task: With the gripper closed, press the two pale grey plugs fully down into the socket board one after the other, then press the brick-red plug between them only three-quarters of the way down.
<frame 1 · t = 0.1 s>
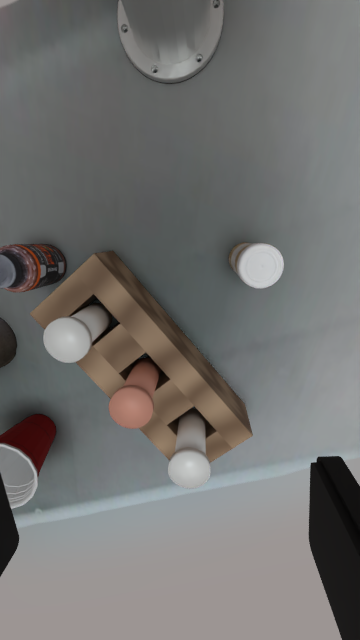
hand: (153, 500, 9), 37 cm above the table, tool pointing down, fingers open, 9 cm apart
sprinkles bottle: (243, 258, 43), on the table
plastic cup: (42, 426, 53), on the table
brick plug: (139, 387, 37), point 11 cm above the table, slide at 0.0 cm
grey plug 2: (190, 442, 39), point 11 cm above the table, slide at 0.0 cm
socket board: (153, 354, 48), on the table
supplement bottle: (49, 263, 45), on the table
grey plug 1: (84, 327, 36), point 11 cm above the table, slide at 0.0 cm
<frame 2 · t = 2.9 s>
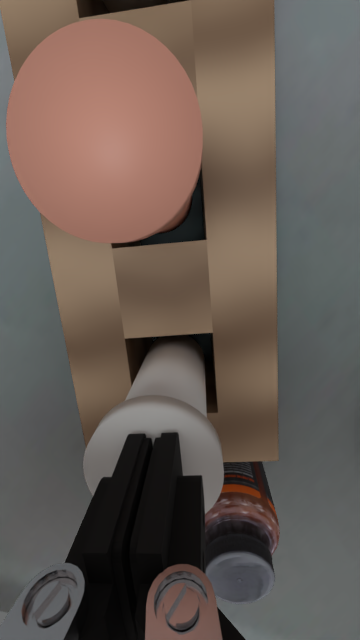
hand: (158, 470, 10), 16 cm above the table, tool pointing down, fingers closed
brick plug: (141, 181, 12), point 11 cm above the table, slide at 0.0 cm
socket board: (169, 209, 23), on the table
supplement bottle: (223, 444, 28), on the table
grey plug 1: (167, 398, 15), point 11 cm above the table, slide at 0.5 cm, touching gripper
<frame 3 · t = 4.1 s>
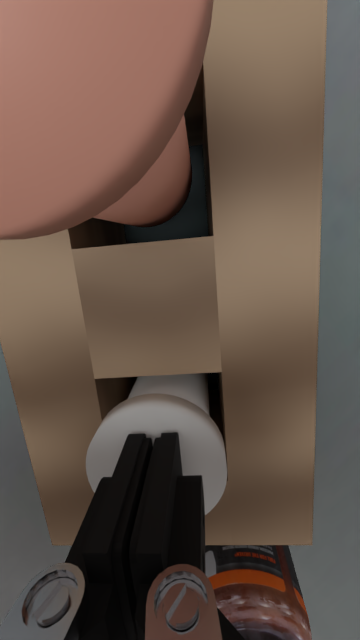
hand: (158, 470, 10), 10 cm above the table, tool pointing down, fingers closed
brick plug: (101, 130, 7), point 11 cm above the table, slide at 0.0 cm
socket board: (162, 197, 17), on the table
supplement bottle: (231, 489, 23), on the table
grey plug 1: (170, 397, 15), point 5 cm above the table, slide at 5.8 cm, touching gripper
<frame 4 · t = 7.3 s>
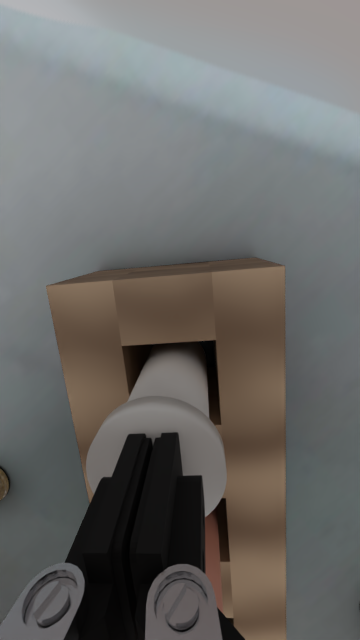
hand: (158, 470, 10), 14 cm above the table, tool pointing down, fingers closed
brick plug: (185, 584, 16), point 11 cm above the table, slide at 0.0 cm
grey plug 2: (170, 399, 15), point 9 cm above the table, slide at 1.6 cm, touching gripper
socket board: (191, 446, 26), on the table
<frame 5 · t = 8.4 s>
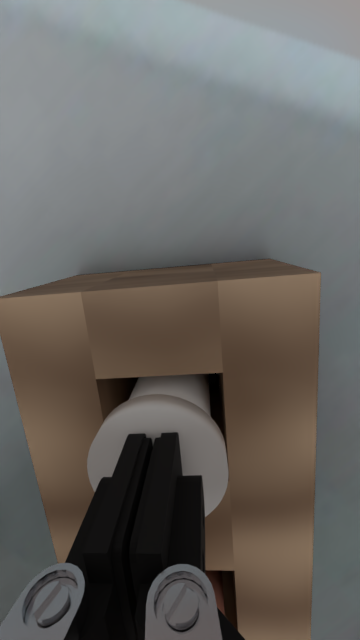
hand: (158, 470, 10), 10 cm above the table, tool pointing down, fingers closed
grey plug 2: (171, 397, 15), point 5 cm above the table, slide at 5.8 cm, touching gripper
socket board: (191, 481, 22), on the table
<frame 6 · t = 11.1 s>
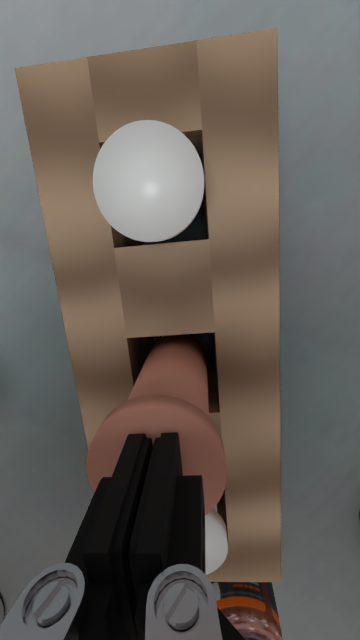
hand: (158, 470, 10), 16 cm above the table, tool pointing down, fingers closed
brick plug: (170, 398, 15), point 11 cm above the table, slide at 0.5 cm, touching gripper
grey plug 2: (162, 199, 18), point 5 cm above the table, slide at 5.8 cm
socket board: (182, 334, 25), on the table
supplement bottle: (230, 529, 30), on the table
grey plug 1: (190, 481, 23), point 5 cm above the table, slide at 5.8 cm
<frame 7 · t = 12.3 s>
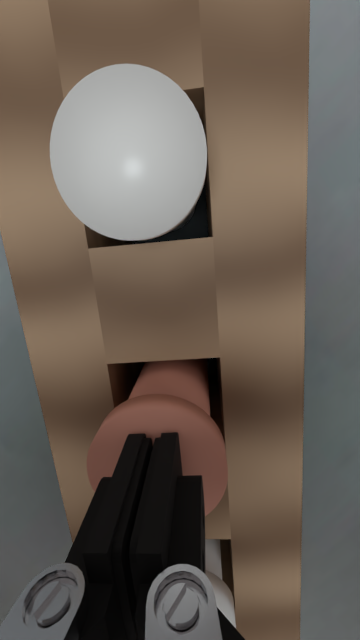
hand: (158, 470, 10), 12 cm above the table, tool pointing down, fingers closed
brick plug: (171, 397, 15), point 7 cm above the table, slide at 4.3 cm, touching gripper
grey plug 2: (153, 186, 14), point 5 cm above the table, slide at 5.8 cm
socket board: (180, 349, 21), on the table
grey plug 1: (188, 527, 19), point 5 cm above the table, slide at 5.8 cm
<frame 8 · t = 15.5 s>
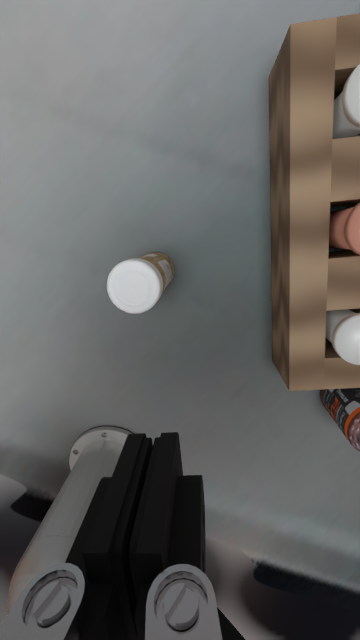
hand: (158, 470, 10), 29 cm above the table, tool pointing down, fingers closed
sprinkles bottle: (157, 270, 38), on the table
brick plug: (351, 228, 28), point 7 cm above the table, slide at 4.3 cm
grey plug 2: (349, 114, 27), point 5 cm above the table, slide at 5.8 cm
socket board: (323, 230, 35), on the table
supplement bottle: (341, 391, 40), on the table
grey plug 1: (339, 325, 32), point 5 cm above the table, slide at 5.8 cm
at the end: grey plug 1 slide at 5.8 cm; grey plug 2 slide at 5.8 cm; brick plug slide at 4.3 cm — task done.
